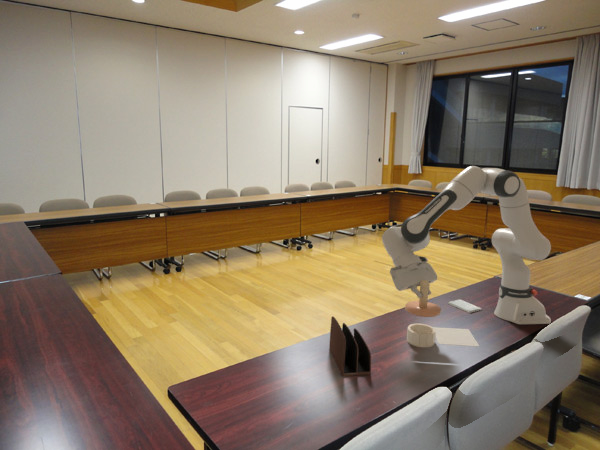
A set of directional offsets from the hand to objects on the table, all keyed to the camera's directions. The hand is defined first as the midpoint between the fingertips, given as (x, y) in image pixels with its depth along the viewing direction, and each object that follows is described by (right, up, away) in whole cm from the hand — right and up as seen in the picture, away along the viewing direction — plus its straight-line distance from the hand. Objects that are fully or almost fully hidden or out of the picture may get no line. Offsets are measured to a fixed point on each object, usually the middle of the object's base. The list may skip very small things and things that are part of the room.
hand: (425, 295), depth 159 cm
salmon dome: (0, -6, +2) cm, 6 cm away
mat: (+14, -18, +8) cm, 25 cm away
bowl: (-1, -19, +4) cm, 19 cm away
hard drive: (+31, -13, +40) cm, 52 cm away
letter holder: (-30, -22, -10) cm, 38 cm away
